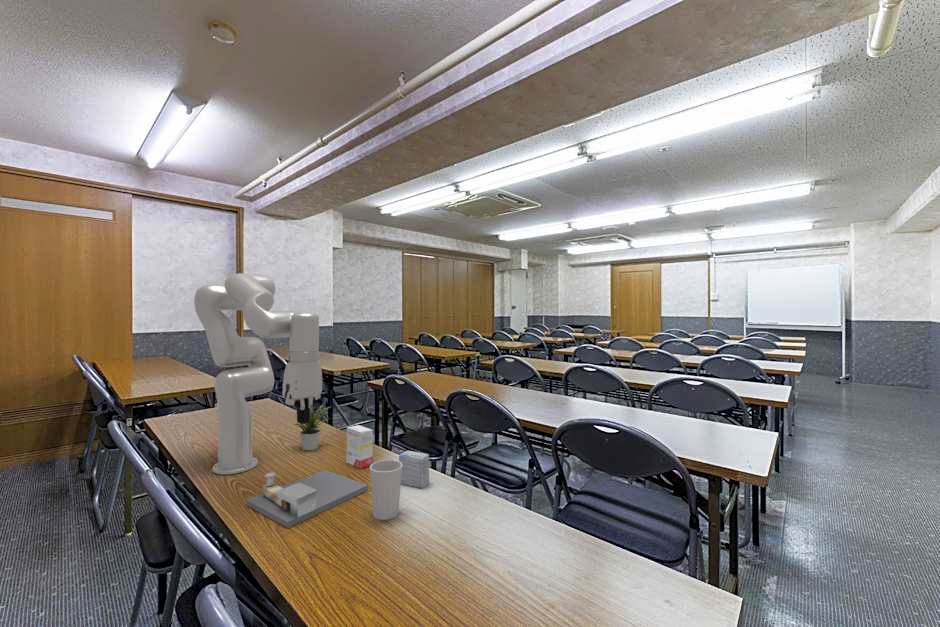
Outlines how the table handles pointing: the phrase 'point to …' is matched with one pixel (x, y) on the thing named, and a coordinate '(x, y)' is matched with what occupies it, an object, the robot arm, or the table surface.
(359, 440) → the ink box
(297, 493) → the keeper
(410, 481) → the medicine box
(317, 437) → the house plant
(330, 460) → the table surface
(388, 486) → the cup
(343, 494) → the board
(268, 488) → the link
